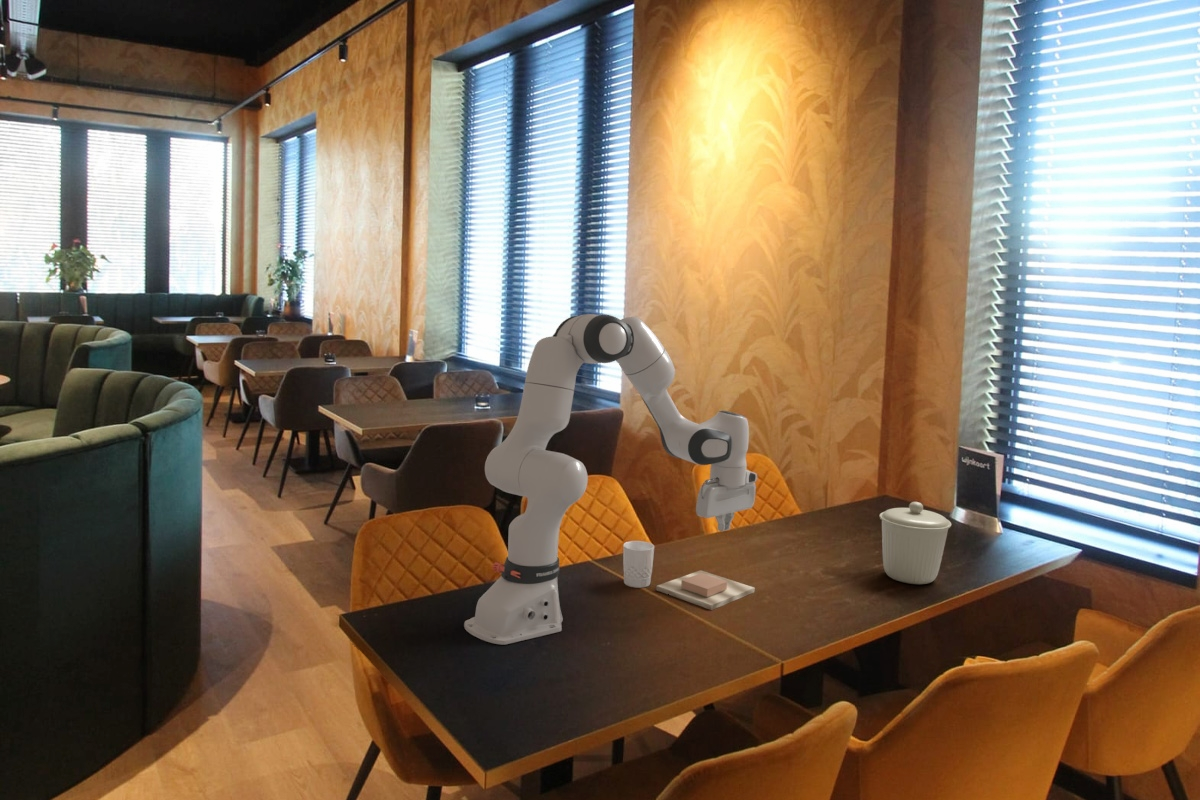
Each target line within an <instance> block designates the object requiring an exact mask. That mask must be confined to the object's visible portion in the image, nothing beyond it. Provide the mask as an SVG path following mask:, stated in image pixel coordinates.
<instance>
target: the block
mask: <svg viewBox="0 0 1200 800" xmlns="http://www.w3.org/2000/svg"><path fill="white" fill-rule="evenodd" d="M681 588H683V589H684V590H687V591H690V592H693V593H696V594H699V595H701V596H704V597H709V596H711V595H714V594H717V593H719V592H722V591H724V590H726V589H727V581H724V580H721V579H718V578H715V577H711V576H708V575H705V574H702V573H700V574H697V575H695V576H692V577H689V578H686V579H683V580H682V582H681Z"/></svg>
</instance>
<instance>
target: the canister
mask: <svg viewBox="0 0 1200 800" xmlns="http://www.w3.org/2000/svg"><path fill="white" fill-rule="evenodd" d="M879 519H880V521H881V539H882V541H881V542H882V543H881V544H882V549H881V550H882V563H883V564H882V565H883V570H884V572H885V573H886V575H887V576H888V577H889V578H891V579H892V580H894V581H898V582H900V583H905V584H908V585H909V584H911V585H926V584H930V583H932V582H933V581H935V580H936V578H937V576H938V574H939V572H940V567H941V562H942V560H943V555H944V550H945V546H946V541H947V537H948V531H949V529H950V528H951V527H952V522H951V521H950V520H949V519H947V518H946V517H945V516H943V515H942V514H940V513H937V512H935V511H931V510H926V509H924V505H923V504H922V503H921V502H918V501H912V502H910V503H909V504H908V507H894V508H893V507H892V508H889V509H886V510H885V511H883V512H881V513H879Z"/></svg>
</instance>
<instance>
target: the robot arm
mask: <svg viewBox="0 0 1200 800" xmlns="http://www.w3.org/2000/svg"><path fill="white" fill-rule="evenodd" d="M615 361H616V362H617V363H618V364H619V366H620V368H621V369H622V371H623V374H625V376H626V378H627V379H628V380H629V382H630V384H631V385H632V386H633V387H634V389H635V390H636V391H637V393H638V394H639V395H640V397H641V399H642V402H643V403H644V405H645V406H646V408H647V410H648V412H649V413H650V415H651V417H652V419H654V421H655V423H656V425H657V427H658V431H659V434H660V441H661V444H662V447H663V449H664V451H665V452H666V453H667V454H668V455H669V456H671V457H673V458H676V459H682V460H684V461H686V462H689V463H692V464H695V465H699V466H708V465H710V474H709V479H705V480H704V482H703V483H702V484H701V485H700V487H699V490H698V494H697V499H696V505H695V513H696V516H698V517H701V518H705V519H711V518H715V520H716V523H717V531H719V532H725V531H729V530H731V524H732V521H733V519H734V517H735V513H737V512H741V511H746V510H749V509H752V508H753V507H754V504H755V501H756V500H755V499H756V490H757V488H756V483H755V482H757V480H758V474H757V472H754V471H750V470H749V469H747V466H748V464H747V453H748V449H749V440H750V438H749V437H750V428H749V421H748V418H747V417H746V416H744V415H743V414H739V413H735V412H732V411H727V410H720V411H719V410H718V411H717V413H716V414H715V415H714V416H712V417H711V418H710V419H708V420H705V421H704V422H700V423H697V422H694V421H692V420H690V419H688V418H686V417H684V416H683V415H682V414H681V413H680V411H679V410H678V408H677V406H676V404H675V402H674V401H673V399H672V397H671V395H670V394H669V391H668V388H669V387H670V386H671V385H672V383H673V381H674V380H675V379H674V378H675V376H676V368H675V364H674V362H673V360H672V358H671V357H670V355H669V353H668V351H667V350H666V348H665V346H664V345H663V344H662V342H661V340H660V339H659V338H658V337H657V336H656V334H655V333H654V332H653V331H652V329H651V328H649V326H648V325H647V324H646V323H645V322H644V321H643V320H642V319H641V318H639V317H637V316H627V317H624V318H621V319H620V318H618V317H616V316H613V315H611V314H595V313H587V314H581V315H573V316H570V317H568V318H566V319H565V320H563V321H562V322H561V323H560V324H559V325H558V327H557V328H556V330H555V332H554V333H553V334H552V335H551V336H546V337H543V338H541V339H540V340H538V341H537V342H536V344H535V345H534V348H533V350H532V353H531V355H530V359H529V363H528V367H527V370H526V375H525V380H524V384H523V385H524V387H523V391H522V396H521V400H520V401H521V403H520V405H519V411H518V415H517V418H516V420H515V423H514V425H513V427H512V429H511V431H510V432H509V434H508V435H507V437H506V438H504V440H503V441H502V442H500V443H499V444H498V445H497V446H495V447H494V448H493V449H491V451H490V452H489V453H488V455H487V456H486V457H487V458H486V460H485V463H484V474H485V478H486V480H487V481H488V483H489V484H490V485H491V486H494V487H495V488H496V489H499V490H501V491H502V492H505V493H508V494H512V495H516V496H520V497H524V498H526V499H527V503H526V504H527V505H526V509H525V512H523V513H521V514H519V515H518V516H516V517H514V519H513V520H512V521H511V522H510V524H509V526H508V537H507V538H508V539H507V540H508V542H507V545H508V546H507V556H506V559H505V560H504V564H503V563H500V562H498V561H495V562H494V563H493V564H492V570H493V571H494V572H497V573H498V574H500V577H499V578H498V579H496V581H494V583H493V584H492V585H491V586H490V587H489V588H488V589H487V590H486V592H484V593H483V594H482V595H481V597H480V596H479V599H478V601H477V603H476V607H475V614H474V616H473V617H471V618H470V619H467V620H465V621H464V623H463V627H464V629H465V630H466V632H467V633H469V634H470V635H471V636H473V637H476V638H478V639H480V640H481V641H484V642H488V643H491V644H496V645H508V644H514V643H518V642H521V641H525V640H531V639H535V638H540V637H543V636H547V635H551V634H555V633H556V634H557V633H559V632H562V631H563V629H562V627H563V626H562V622H563V619H564V618H563V615H562V611H561V610H562V608H561V606H560V597H559V595H560V594H559V588H558V587H559V586H558V585H559V584H558V576H560V558H559V556H558V554H559V553H558V552H559V539H560V538H559V537H560V530H561V529H560V528H561V524H562V521H563V519H564V518H563V517H564V516H565V514H566V512H567V511H568V509H569V508H570V507H571V506H572V505H573V504H575V503H576V502H578V501H579V500H580V499H581V498H582V497H583V496H584V494H585V492H586V490H587V487H588V481H589V476H588V472H587V469H586V466H585V465H584V463H583V462H582V461H580V460H579V459H576V458H574V457H572V456H570V455H568V454H565V453H562V452H557V451H551V450H546V449H547V447H548V443H549V441H550V440H551V438H552V437H553V436H554V435H555V434H557V433H559V432H561V431H563V430H564V429H566V428H567V426H568V425H569V422H570V419H571V413H572V407H573V401H574V393H575V386H576V378H577V375H578V372H579V369H580V368H581V367H582V365H583V364H584V363H585V364H590V365H591V364H593V365H594V364H595V365H596V364H608V363H609V364H610V363H613V362H615Z"/></svg>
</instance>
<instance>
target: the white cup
mask: <svg viewBox="0 0 1200 800" xmlns="http://www.w3.org/2000/svg"><path fill="white" fill-rule="evenodd" d="M622 548H623V550H622V551H623V557H622V559H623V560H622V561H623V562H622V564H623V566H622V567H623V568H622V569H623V583H624V584H625V586H628V587H630V588H639V589H640V588H642V589H643V588H646V587H650V584H651V580H652V574H653V563H654V552H655V545H654V544H653V543H651V542H647V541H644V540H642V541H641V540H630V541H626V542H624V543H623V545H622Z"/></svg>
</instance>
